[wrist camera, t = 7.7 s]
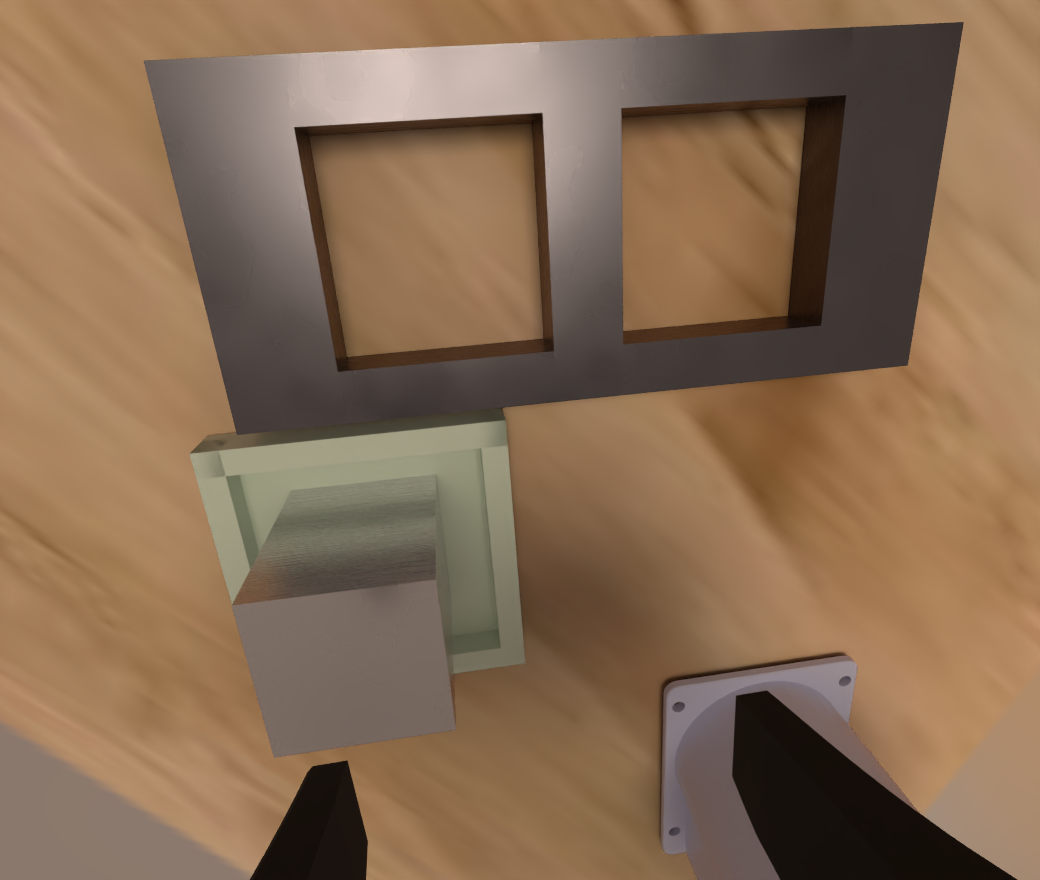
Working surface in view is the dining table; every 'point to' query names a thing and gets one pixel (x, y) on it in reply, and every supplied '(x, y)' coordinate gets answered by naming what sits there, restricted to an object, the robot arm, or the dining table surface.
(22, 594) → the dining table surface
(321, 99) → the dark grey flat frame
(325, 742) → the grey rectangular block
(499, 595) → the tray
